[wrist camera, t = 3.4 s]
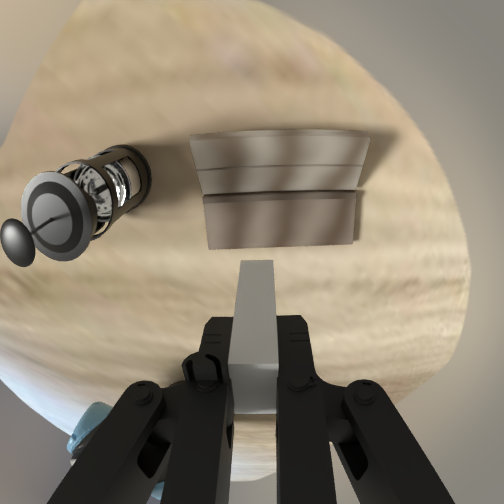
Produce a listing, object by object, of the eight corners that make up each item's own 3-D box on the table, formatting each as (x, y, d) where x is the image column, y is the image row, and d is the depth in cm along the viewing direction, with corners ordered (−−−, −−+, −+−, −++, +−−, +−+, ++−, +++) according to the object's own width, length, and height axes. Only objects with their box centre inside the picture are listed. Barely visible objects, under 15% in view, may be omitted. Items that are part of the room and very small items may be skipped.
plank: (203, 187, 40) (202, 195, 40) (190, 135, 33) (188, 142, 32) (353, 182, 40) (356, 190, 39) (367, 131, 32) (370, 138, 31)
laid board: (209, 246, 44) (208, 250, 43) (204, 194, 41) (202, 197, 39) (350, 240, 43) (353, 245, 42) (353, 189, 40) (356, 192, 39)
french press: (106, 130, 37) (-15, 162, 16) (164, 156, 39) (69, 210, 18) (82, 203, 41) (-21, 278, 21) (134, 230, 43) (50, 328, 22)
